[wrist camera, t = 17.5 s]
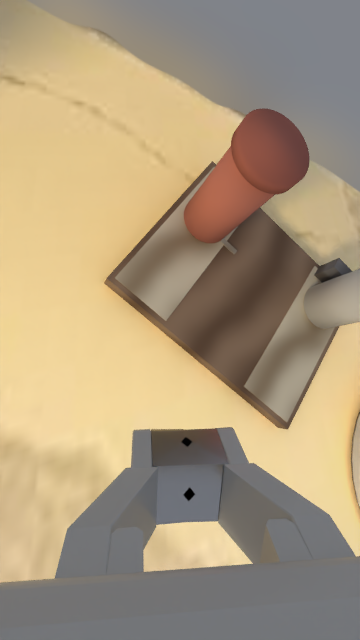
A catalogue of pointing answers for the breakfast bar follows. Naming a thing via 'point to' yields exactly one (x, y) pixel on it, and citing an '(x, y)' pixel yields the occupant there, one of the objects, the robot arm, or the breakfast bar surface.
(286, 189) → the red plug
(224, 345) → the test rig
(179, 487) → the robot arm
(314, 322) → the grey plug
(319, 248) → the breakfast bar surface
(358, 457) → the pan
